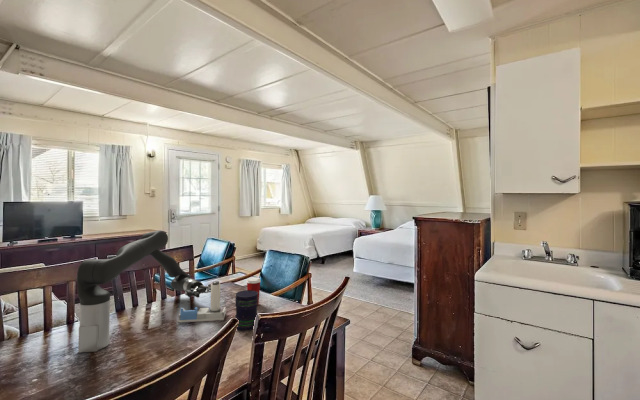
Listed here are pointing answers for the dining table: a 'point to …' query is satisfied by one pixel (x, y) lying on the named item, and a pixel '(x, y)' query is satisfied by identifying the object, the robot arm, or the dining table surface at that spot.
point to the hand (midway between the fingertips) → (207, 293)
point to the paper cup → (254, 285)
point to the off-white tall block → (215, 297)
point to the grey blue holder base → (200, 315)
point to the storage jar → (246, 309)
